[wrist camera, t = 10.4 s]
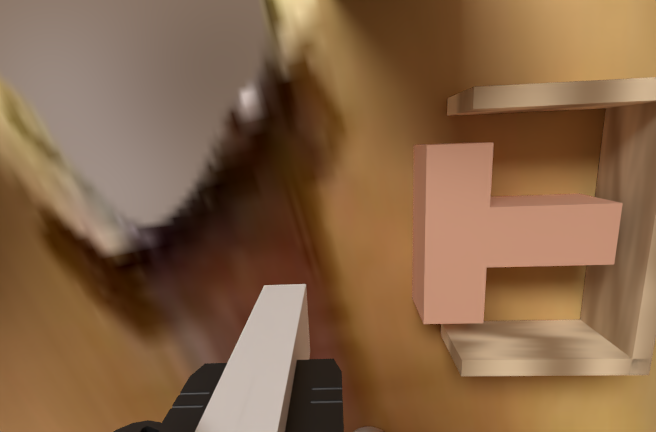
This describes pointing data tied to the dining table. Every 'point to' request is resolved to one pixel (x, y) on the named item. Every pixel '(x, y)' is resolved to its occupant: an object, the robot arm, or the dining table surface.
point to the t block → (492, 230)
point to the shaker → (368, 429)
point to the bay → (600, 280)
